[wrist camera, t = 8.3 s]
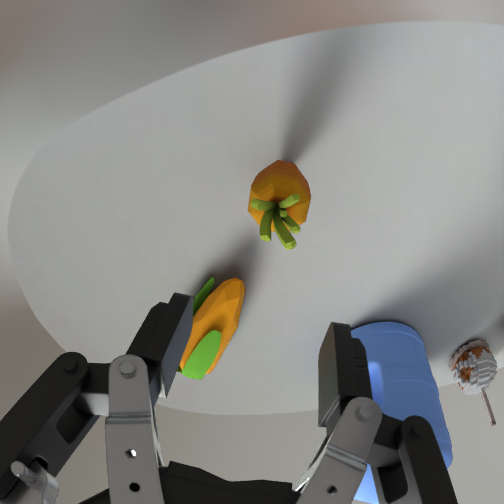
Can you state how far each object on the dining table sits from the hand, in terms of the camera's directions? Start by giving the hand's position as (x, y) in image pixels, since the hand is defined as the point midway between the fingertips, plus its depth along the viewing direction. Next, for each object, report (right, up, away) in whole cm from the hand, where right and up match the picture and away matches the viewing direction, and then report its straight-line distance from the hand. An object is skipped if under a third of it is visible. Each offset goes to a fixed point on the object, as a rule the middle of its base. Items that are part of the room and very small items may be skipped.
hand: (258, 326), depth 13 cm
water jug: (+19, -13, +32) cm, 39 cm away
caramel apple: (+37, -14, +30) cm, 50 cm away
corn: (-6, -6, +32) cm, 33 cm away
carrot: (+3, +12, +20) cm, 24 cm away
